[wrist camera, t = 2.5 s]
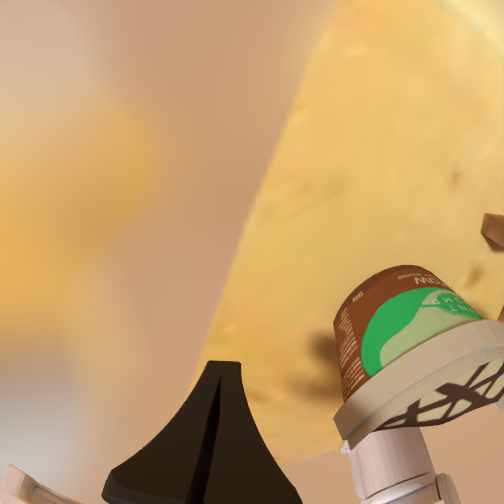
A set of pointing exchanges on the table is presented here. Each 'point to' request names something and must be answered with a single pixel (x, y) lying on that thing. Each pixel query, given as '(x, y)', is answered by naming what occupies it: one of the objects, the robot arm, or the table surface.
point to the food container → (413, 355)
